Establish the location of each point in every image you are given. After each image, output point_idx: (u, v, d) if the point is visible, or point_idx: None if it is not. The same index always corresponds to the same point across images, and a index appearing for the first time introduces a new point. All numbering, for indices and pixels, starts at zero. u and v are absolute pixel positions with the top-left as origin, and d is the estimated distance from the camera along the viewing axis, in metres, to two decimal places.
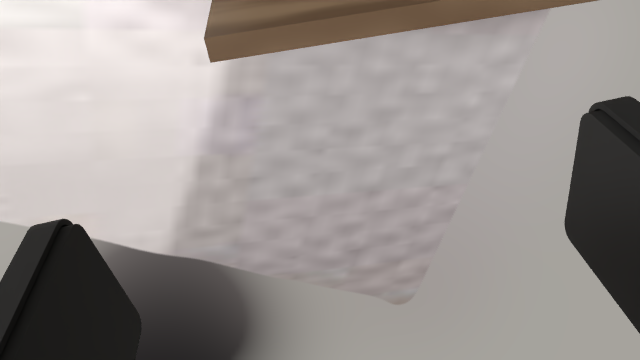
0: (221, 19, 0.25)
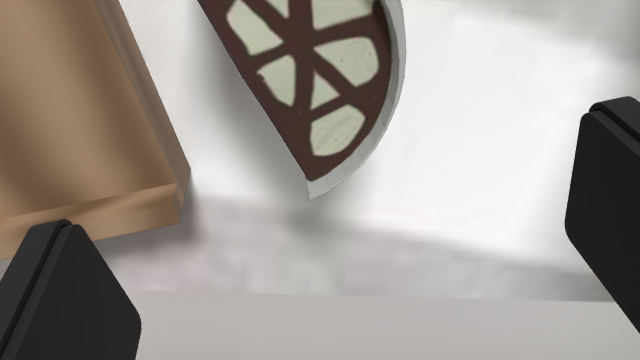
0: None
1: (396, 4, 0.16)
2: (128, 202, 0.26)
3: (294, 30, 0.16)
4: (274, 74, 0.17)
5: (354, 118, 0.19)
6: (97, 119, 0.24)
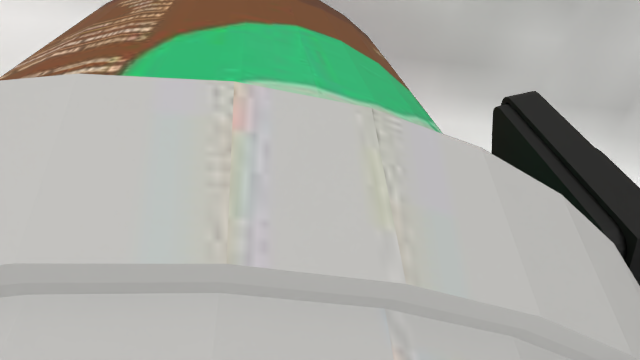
0: None
1: None
2: None
3: None
4: None
5: None
6: None
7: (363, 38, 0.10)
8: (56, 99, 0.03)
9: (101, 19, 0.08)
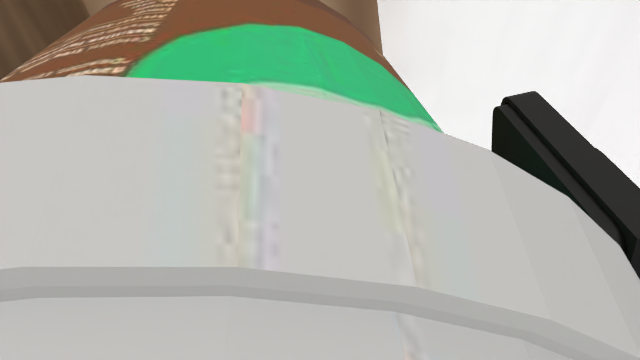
0: None
1: None
2: None
3: None
4: None
5: None
6: None
7: (365, 39, 0.10)
8: (63, 101, 0.03)
9: (103, 20, 0.08)
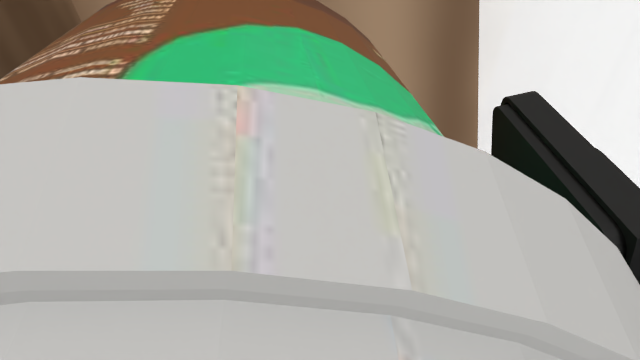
0: None
1: None
2: None
3: None
4: None
5: None
6: None
7: (364, 40, 0.10)
8: (58, 103, 0.03)
9: (101, 21, 0.08)
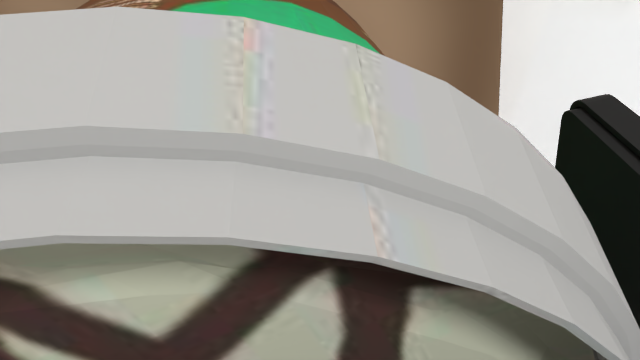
0: None
1: None
2: None
3: None
4: None
5: None
6: None
7: (352, 21, 0.11)
8: (102, 24, 0.04)
9: None
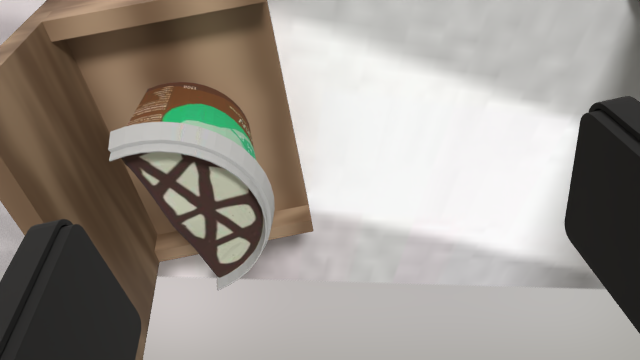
0: None
1: (261, 190, 0.28)
2: (279, 217, 0.41)
3: (204, 201, 0.28)
4: (192, 223, 0.29)
5: (243, 243, 0.31)
6: (270, 165, 0.39)
7: (227, 103, 0.34)
8: (160, 124, 0.26)
9: (151, 100, 0.31)
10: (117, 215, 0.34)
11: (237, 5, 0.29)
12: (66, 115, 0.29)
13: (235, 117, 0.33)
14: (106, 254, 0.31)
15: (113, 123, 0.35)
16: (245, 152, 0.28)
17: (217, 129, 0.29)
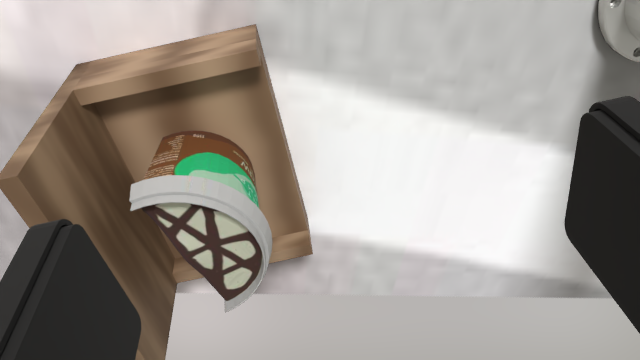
0: (39, 161, 0.28)
1: (259, 229, 0.33)
2: (282, 242, 0.46)
3: (210, 239, 0.33)
4: (201, 257, 0.34)
5: (246, 272, 0.36)
6: (271, 197, 0.43)
7: (231, 148, 0.39)
8: (172, 178, 0.31)
9: (165, 150, 0.36)
10: (139, 247, 0.39)
11: (236, 69, 0.34)
12: (94, 167, 0.34)
13: (238, 161, 0.38)
14: (130, 283, 0.36)
15: (134, 166, 0.40)
16: (244, 197, 0.33)
17: (221, 176, 0.34)
